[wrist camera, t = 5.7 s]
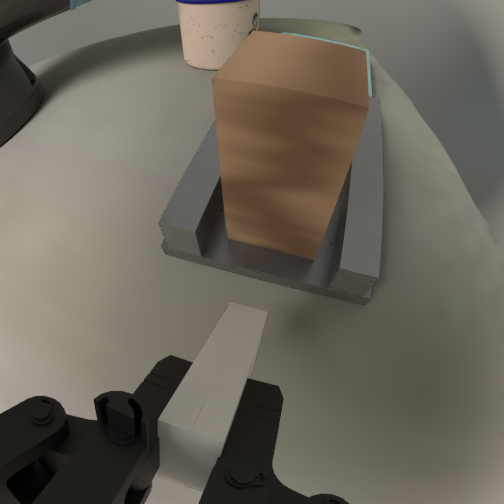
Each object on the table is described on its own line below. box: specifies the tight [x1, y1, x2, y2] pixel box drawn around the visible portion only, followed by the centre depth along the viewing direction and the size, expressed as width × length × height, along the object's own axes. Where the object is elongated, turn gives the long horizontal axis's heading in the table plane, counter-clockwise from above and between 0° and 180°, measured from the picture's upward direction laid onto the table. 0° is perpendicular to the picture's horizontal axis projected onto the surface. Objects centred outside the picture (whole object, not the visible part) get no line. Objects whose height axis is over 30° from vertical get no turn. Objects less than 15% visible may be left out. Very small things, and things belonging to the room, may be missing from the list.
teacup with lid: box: [176, 0, 260, 70], centre depth 26 cm, size 12×9×12 cm
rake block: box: [212, 30, 369, 260], centre depth 14 cm, size 5×5×10 cm
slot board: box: [158, 96, 383, 305], centre depth 20 cm, size 12×16×4 cm
